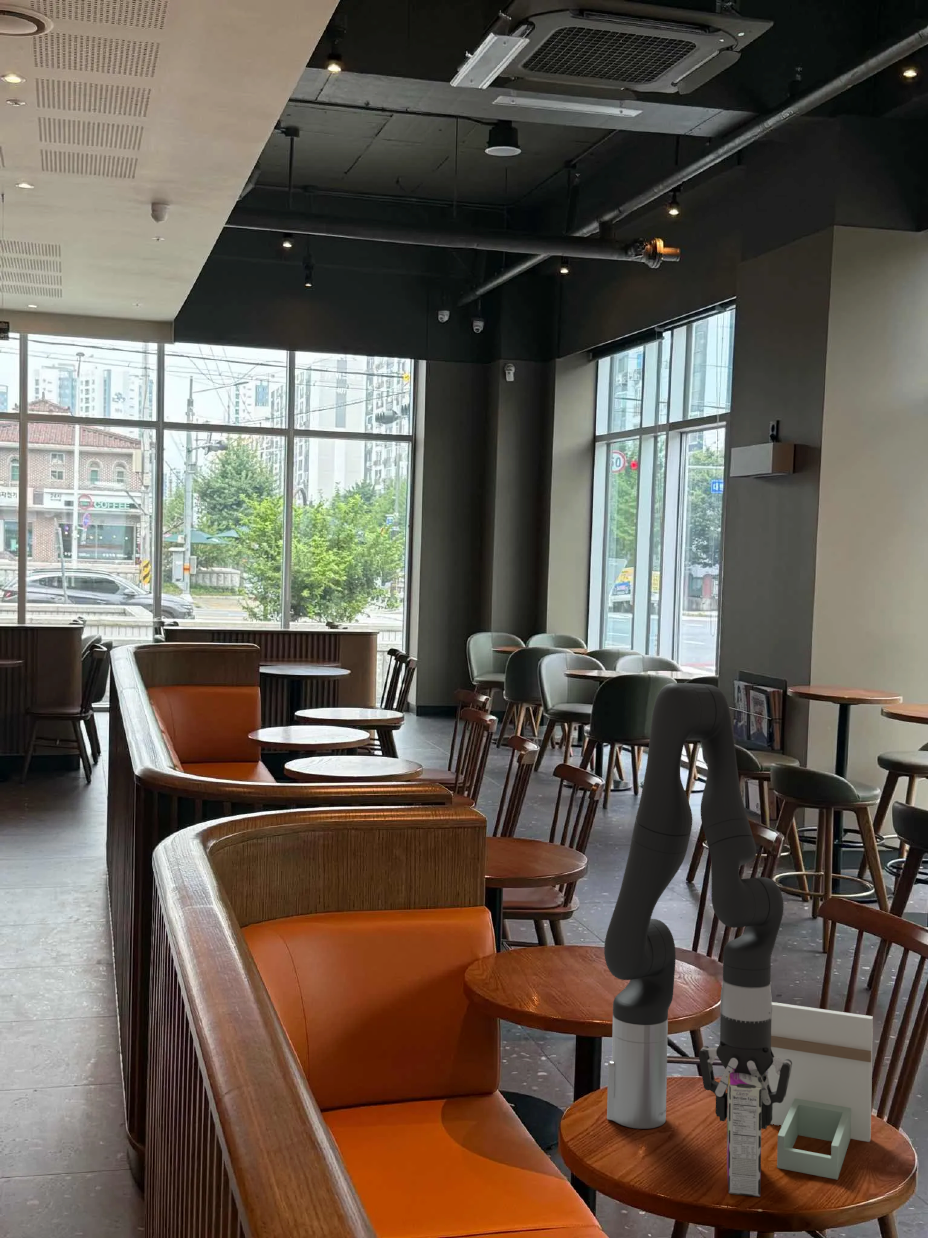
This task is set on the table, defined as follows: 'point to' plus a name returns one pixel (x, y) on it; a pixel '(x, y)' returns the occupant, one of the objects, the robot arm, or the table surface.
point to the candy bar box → (744, 1134)
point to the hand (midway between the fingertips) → (743, 1123)
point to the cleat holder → (821, 1084)
